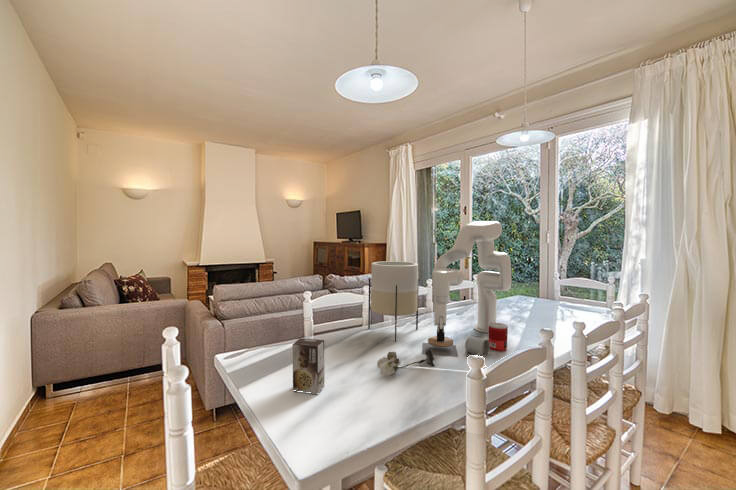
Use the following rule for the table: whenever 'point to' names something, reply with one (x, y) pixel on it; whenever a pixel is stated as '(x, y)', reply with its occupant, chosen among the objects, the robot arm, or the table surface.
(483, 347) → the ceramic mug
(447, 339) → the lid
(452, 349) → the mat
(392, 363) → the artificial flower
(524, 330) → the table surface
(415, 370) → the table surface
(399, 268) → the planter
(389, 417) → the table surface
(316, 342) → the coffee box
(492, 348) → the canned food
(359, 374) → the table surface
